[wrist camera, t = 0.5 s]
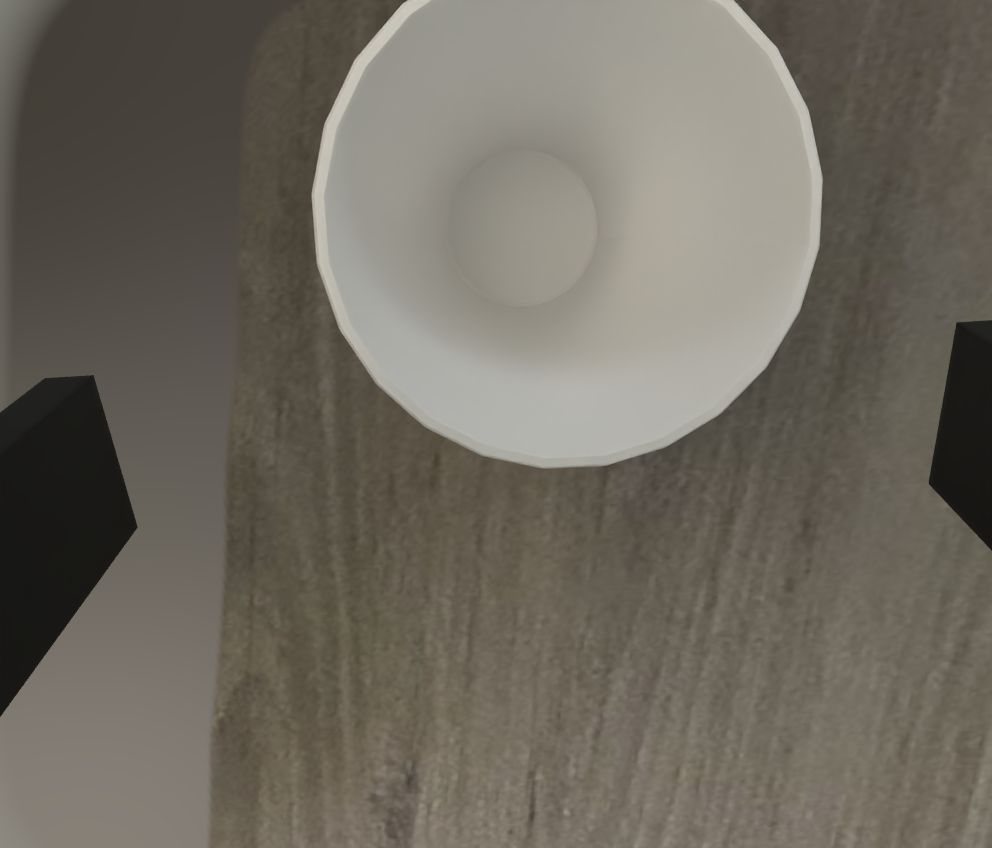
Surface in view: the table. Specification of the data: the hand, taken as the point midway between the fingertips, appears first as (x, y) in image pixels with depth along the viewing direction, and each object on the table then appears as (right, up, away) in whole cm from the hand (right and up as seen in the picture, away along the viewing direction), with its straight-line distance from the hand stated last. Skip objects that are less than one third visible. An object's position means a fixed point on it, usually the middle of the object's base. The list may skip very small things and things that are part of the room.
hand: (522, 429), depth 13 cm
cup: (0, +7, +17) cm, 19 cm away
